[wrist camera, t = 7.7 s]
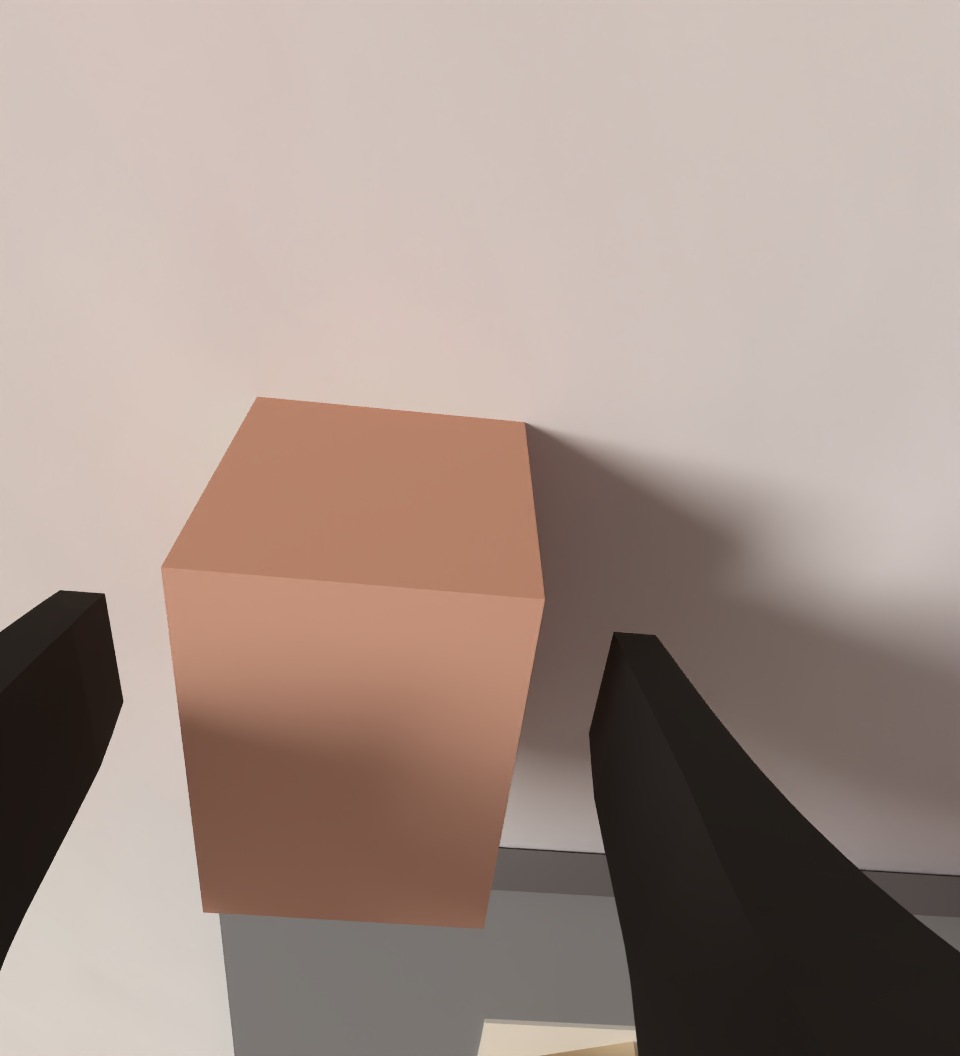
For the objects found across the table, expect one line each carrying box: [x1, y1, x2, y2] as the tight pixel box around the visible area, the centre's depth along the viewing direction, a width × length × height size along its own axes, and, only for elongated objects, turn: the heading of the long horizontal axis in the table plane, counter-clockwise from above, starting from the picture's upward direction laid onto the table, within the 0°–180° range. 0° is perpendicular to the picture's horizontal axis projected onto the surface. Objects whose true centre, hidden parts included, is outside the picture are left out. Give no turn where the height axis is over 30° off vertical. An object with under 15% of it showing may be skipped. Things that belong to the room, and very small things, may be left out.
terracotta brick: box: [161, 397, 545, 929], centre depth 12 cm, size 4×6×4 cm, turn 174°
